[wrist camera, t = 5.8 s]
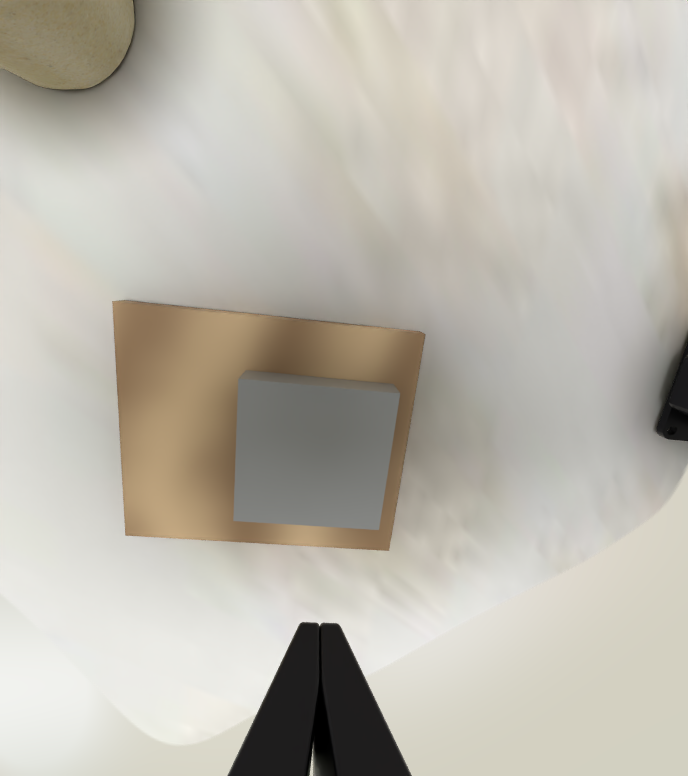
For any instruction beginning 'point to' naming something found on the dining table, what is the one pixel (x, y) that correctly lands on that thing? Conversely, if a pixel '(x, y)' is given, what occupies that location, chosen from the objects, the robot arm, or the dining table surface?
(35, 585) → the dining table surface
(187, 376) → the board
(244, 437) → the tile
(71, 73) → the flower pot
